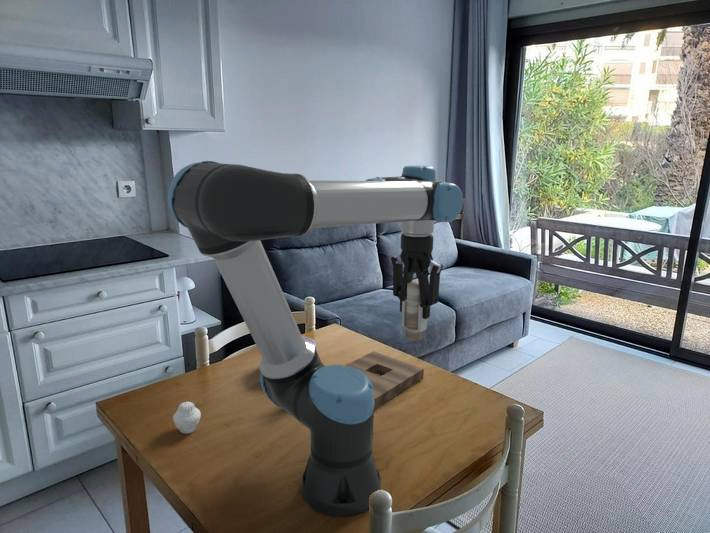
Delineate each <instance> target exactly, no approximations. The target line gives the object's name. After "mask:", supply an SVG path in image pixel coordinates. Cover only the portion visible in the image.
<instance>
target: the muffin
mask: <svg viewBox="0 0 710 533" xmlns="http://www.w3.org/2000/svg"><path fill="white" fill-rule="evenodd" d="M201 417H202V413H201V411H200V409H199V408H197V407H196V406H195V404H194V402H191V401H184V402H183V401H182V403H180V404H178V407H177V410H176V411H175V412H174V414H173V416H172V420H173V422H174V425H175V426H176V428H177V429H178V430H179V432H180V433H181V434H192V433H193V432H195V431H196V428H197V427H198V425H199V423H200V420H201Z"/></svg>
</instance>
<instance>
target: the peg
mask: <svg viewBox="0 0 710 533" xmlns="http://www.w3.org/2000/svg"><path fill="white" fill-rule="evenodd" d="M419 305H421V297H420V289H419V282H418V280H412V281H410V282H407V310H406V326H405V339H406V340H407V341H411V342H420V341H421V340H422V339H423V331H422V332H418V308H419Z"/></svg>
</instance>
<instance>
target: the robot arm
mask: <svg viewBox="0 0 710 533" xmlns="http://www.w3.org/2000/svg"><path fill="white" fill-rule="evenodd" d="M436 174H437V173H436V169H435V168H434V167H433V166H431V165H405V166H404V167H403V168H402V173H401V176H386V177H385V176H384V177H382V176H381V177H379V176H376V177H374V178H373V177H372V178H367V179H366V180H309V179H308V178H307V177H306V176H305V175H303V174H301V173H287V172H286V173H284V172H283V173H282V172H277V171H273V170H272V171H271V170H267V169H262V168H257V167H253V166H249V165H248V166H247V165H243V164H234V163H221V162H216V161H215V160H214V161H213V160H203V161H198V162H194V163H193V162H192V163H191V164H187V165H185V166H184V167H183V168H181V169H180V170H178V172H176V174H175V175H174V176H173V178H172V180H171V183H169V184H170V185H169V188H168V191H167V203H168V204H167V205H168V208H169V210H170V212H171V214H172V216H173V217H174V218H175V220H176V221H177V222H178V223H179V224H180V225H182V226H183V227H185V228H187V230H188V231H189V233H190V236H191V237H192V239H193V242H194V243H195V245H196V247H197V249H198V251H199V253H200V254H201V255H202V256H205V257H209V258H211V259H213V260H214V262H215V264H216V266H217V268H218V270H219V272H220V275H221V277H222V278H223V280H224V282H225V285H226V287H227V289H228V291H229V293H230V295H231V297H232V299H233V301H234V303H235V305H236V307H237V308H238V311H239V313H240V315H241V317H242V319H243V321H244V323H245V325H246V327H247V330H248V331H249V333H250V335H251V337H252V339H253V341H254V343H255V345H256V347H257V349H258V352H259V353H260V355H261V357H262V358H261V359H260V361H259V366H258V367H259V371H260V376H259V382H260V385H261V389H262V390H263V392H264V394H265V395H266V397H268V399H269V400H270V402H271V403H273V404H274V405H275V406H277V407H279V408H281V409H282V410H284V411H285V412H286V413H288V414H289V415H290V416H292V417H293V418H294V419H296V420H297V421H298V422H300V424H302V425H303V426H305V427H306V428H307V429H308V430H309V432H310V454H309V457H308V460H307V463H306V465H305V468H304V471H303V474H302V479H301V494H302V498H303V500H304V501H305V503H306V504H307V505H308V506H309V507H310V508H311V509H313V510H314V511H316V512H318V513H319V514H320V513H321V514H323V515H326V516H332V517H338V518H340V517H341V518H342V517H343V518H344V517H345V518H346V517H352V516H355V515H358V514H362V513H364V512H366V511H368V510H369V509H370V508H369V497H370V495H371V494H372V493H373V492H375V491H377V490H380V491H381V488H382V487H381V484H382V483H381V482H382V480H381V474H380V472H379V469H378V468H377V466H376V460H375V456H374V455H373V439H374V421H375V418H374V416H375V410H374V404H375V401H374V397H373V386H372V383H371V381H370V380H369V378H368V377H367V376H366V375H365V374H364V373H363V372H361V371H359V370H358V369H355V368H353V367H350V366H347V367H343V366H344V365H342V364H329V365H325V364H324V363H323V362H322V360H321V358H320V355H319V353H318V350H317V351H316V349H315V346H314V344H313V343H312V342H311V341H310V340H308V339H306V338H302V336H303V335H302V333H301V331H300V329H299V326H298V324H297V322H296V319H295V317H294V316H293V313H292V311H291V309H290V306H289V303H288V301H287V299H286V297H285V294H284V291H283V290H282V287H281V285H280V283H279V281H278V278H277V276H276V274H275V271H274V270H273V266H272V263H271V262H270V260H269V258H268V254H267V253H266V250H265V248H264V245H263V243H262V241H265V240H273V239H280V238H282V239H283V238H288V237H289V238H290V237H301V236H304V235H306V234H307V233H308V232H309V231H310V230H311V229H321V228H333V227H346V226H358V225H359V226H361V225H363V226H364V225H371V224H373V225H374V224H376V225H377V224H386V223H387V224H388V223H400V232H401V235H400V250H401V252H400V255H399V254H398V255H395V256H392V257H391V258H390V261H391V264H392V295H393V296H394V297H397V298H398V299H399V312H400V313H401V328H402V327H403V328H406V310H407V282H410V281H413V279H414V275H415V276H416V279H417V281H418V282H419V289H420V297H421V305H419V308H418V332H422V333H423V332H424V331H426V330H427V329H428V319H430V317H431V307H432V306H434V305H436V304H438V303H439V294H440V280H441V273H442V271H443V268H444V265H443V263H438V262H436V261H434V258H433V254H432V252H433V249H434V235H433V233H434V227H435V225H434V224H435V222H437V223H441V222H442V223H451V222H454V221H455V220H456V219H457V218H458V217H459V216H460V214H461V212H462V209H463V203H464V196H463V195H464V194H463V192H462V190H461V188H460V187H459V185H457V184H455V183H451V182H446V181H437V178H436ZM403 265H404V266H403ZM429 271H430V272H429ZM368 508H369V509H368Z"/></svg>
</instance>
